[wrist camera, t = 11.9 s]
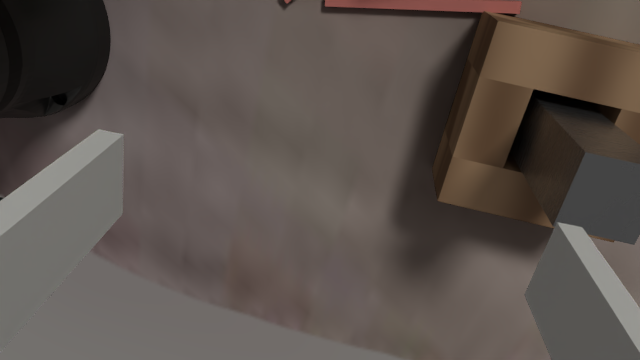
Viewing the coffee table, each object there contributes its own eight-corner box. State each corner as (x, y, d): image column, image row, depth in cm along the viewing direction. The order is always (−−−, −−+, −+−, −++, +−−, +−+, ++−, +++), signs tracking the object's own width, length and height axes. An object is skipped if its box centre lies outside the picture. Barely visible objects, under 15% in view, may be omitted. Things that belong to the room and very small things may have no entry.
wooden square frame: (431, 169, 44) (437, 201, 38) (482, 9, 38) (498, 20, 33) (585, 204, 43) (613, 242, 38) (660, 49, 38) (705, 67, 32)
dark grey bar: (499, 134, 42) (552, 226, 28) (519, 81, 40) (585, 152, 26) (554, 146, 41) (634, 244, 28) (576, 93, 40) (673, 171, 26)
